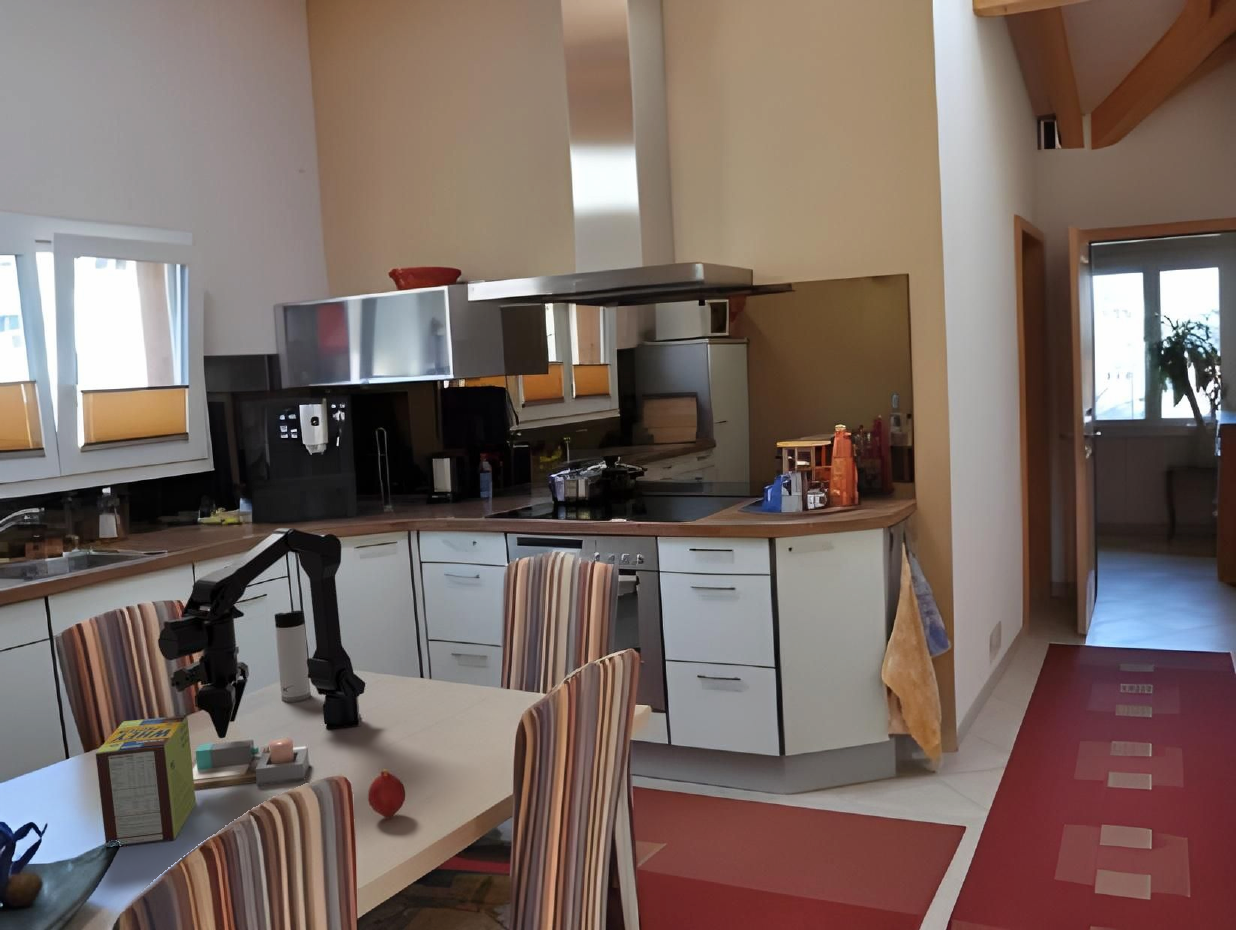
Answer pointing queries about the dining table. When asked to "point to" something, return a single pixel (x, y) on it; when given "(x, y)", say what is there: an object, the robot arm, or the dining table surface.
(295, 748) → the card
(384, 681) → the dining table surface
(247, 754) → the block
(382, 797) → the onion
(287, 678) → the travel mug
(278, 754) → the button
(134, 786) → the protein box
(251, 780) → the clipboard
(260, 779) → the button housing
